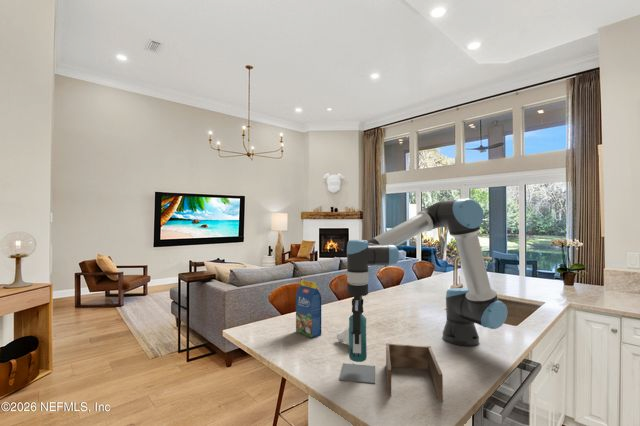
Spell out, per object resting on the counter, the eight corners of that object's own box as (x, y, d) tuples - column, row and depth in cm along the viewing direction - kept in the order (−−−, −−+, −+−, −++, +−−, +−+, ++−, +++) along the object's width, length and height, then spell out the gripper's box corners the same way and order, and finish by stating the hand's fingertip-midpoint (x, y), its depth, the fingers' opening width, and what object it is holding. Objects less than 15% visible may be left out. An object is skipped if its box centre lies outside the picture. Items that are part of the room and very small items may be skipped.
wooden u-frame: (430, 368, 112) (430, 346, 112) (442, 401, 92) (442, 374, 92) (386, 364, 115) (386, 343, 115) (388, 396, 95) (387, 369, 95)
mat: (375, 367, 113) (375, 365, 113) (375, 383, 102) (375, 382, 102) (343, 364, 116) (343, 363, 116) (339, 380, 104) (339, 379, 104)
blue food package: (311, 338, 141) (311, 284, 142) (295, 331, 150) (295, 280, 151) (321, 335, 146) (321, 282, 146) (305, 328, 154) (305, 278, 155)
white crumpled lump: (353, 329, 128) (332, 325, 136) (355, 350, 128) (333, 345, 136) (362, 325, 133) (341, 322, 141) (364, 345, 132) (342, 341, 140)
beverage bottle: (365, 358, 112) (365, 303, 113) (368, 366, 106) (368, 308, 106) (347, 358, 112) (347, 303, 113) (349, 367, 105) (349, 308, 106)
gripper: (349, 278, 120) (349, 337, 119) (344, 288, 101) (344, 359, 100) (368, 278, 118) (369, 339, 118) (367, 289, 99) (367, 361, 99)
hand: (357, 348), depth 109 cm, fingers closed on beverage bottle, 6 cm apart
